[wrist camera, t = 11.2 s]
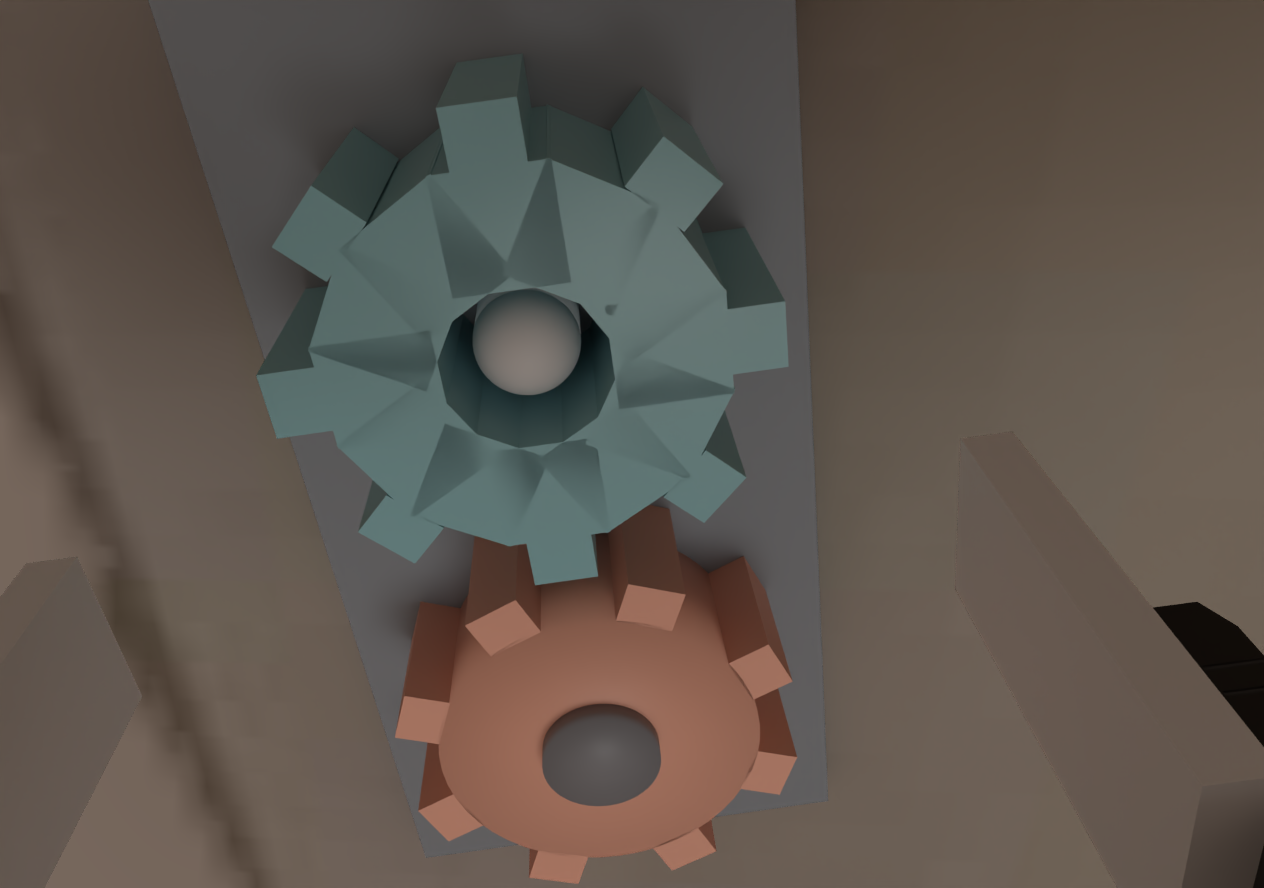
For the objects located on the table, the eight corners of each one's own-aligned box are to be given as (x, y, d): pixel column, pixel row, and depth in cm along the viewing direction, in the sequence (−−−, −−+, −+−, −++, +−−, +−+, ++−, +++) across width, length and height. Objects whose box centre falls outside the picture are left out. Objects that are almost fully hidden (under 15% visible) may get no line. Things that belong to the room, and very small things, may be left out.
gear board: (156, -25, 23) (49, 5, 18) (781, -112, 23) (845, -106, 18) (428, 834, 37) (410, 985, 32) (821, 778, 37) (864, 921, 32)
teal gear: (247, 92, 24) (179, 143, 19) (730, 24, 24) (772, 60, 19) (367, 500, 29) (335, 613, 25) (760, 445, 29) (798, 548, 25)
